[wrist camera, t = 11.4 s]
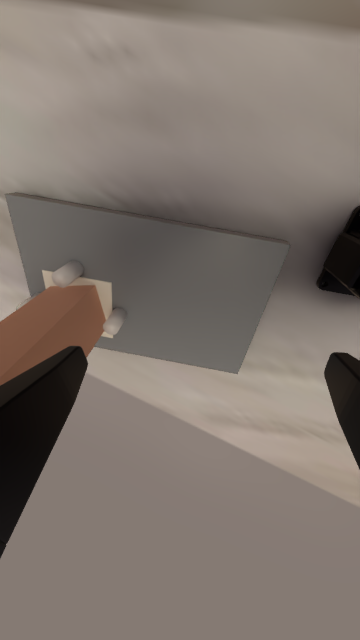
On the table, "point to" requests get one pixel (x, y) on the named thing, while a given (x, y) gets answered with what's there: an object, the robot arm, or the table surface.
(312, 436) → the table surface
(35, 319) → the terracotta block
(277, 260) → the base plate
